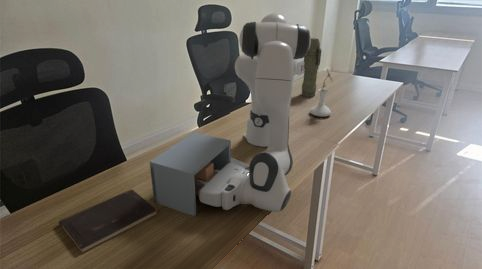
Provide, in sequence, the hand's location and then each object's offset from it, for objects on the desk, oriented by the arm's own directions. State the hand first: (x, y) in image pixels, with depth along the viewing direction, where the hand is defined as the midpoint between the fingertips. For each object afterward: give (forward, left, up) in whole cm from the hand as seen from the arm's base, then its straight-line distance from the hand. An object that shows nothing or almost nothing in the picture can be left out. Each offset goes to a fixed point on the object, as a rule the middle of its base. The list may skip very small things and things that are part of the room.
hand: (202, 176), depth 109 cm
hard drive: (-20, +1, -7) cm, 21 cm away
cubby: (0, -3, -6) cm, 7 cm away
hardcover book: (+25, -17, -7) cm, 31 cm away
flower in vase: (-92, +19, -6) cm, 94 cm away
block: (0, +1, -6) cm, 6 cm away
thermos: (-122, +4, -6) cm, 122 cm away
